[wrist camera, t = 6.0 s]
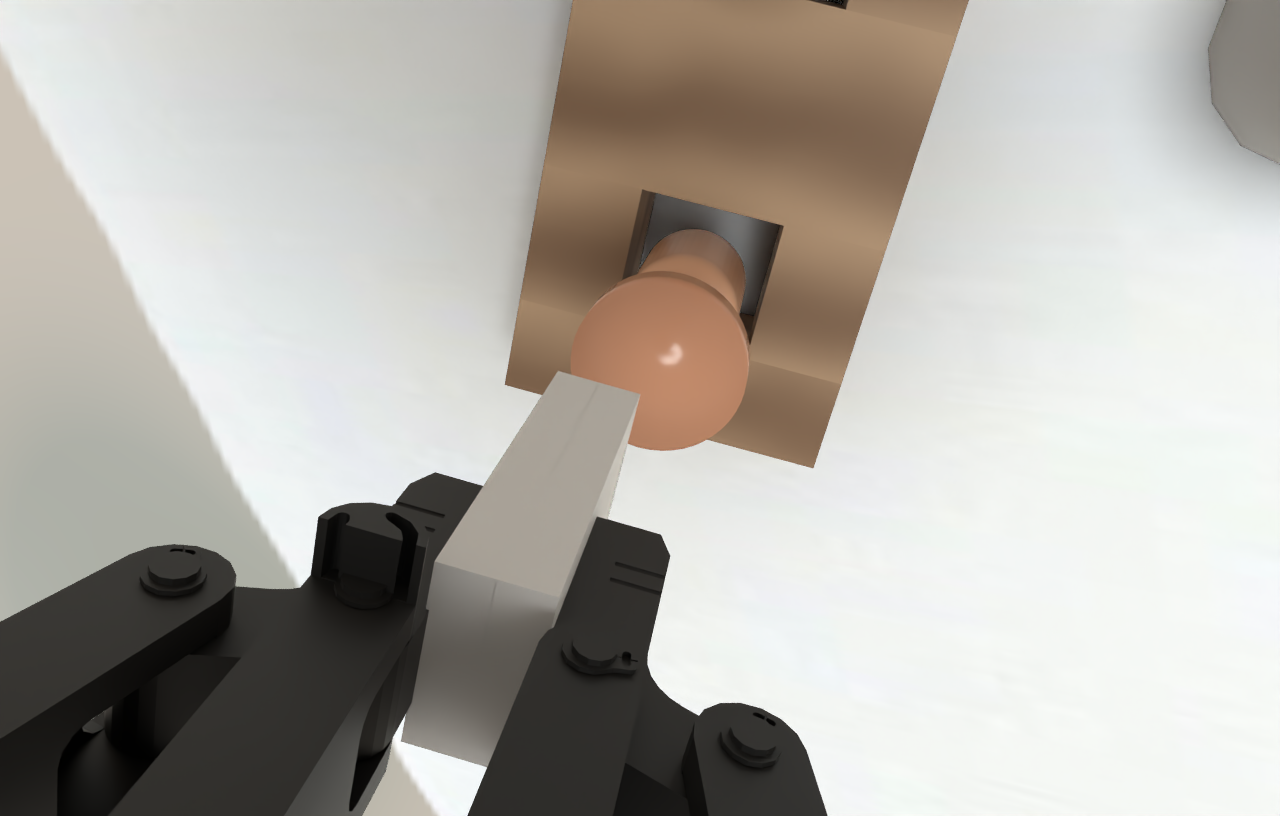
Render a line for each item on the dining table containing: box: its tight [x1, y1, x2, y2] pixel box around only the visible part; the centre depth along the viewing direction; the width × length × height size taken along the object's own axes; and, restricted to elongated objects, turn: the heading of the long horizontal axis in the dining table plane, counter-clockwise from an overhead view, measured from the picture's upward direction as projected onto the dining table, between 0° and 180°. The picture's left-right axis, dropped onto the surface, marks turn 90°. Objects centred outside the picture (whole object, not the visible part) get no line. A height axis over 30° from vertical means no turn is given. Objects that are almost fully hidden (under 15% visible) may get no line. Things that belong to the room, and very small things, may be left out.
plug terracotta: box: [571, 229, 750, 451], centre depth 31 cm, size 5×5×9 cm
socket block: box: [505, 0, 969, 468], centre depth 35 cm, size 24×12×5 cm, turn 167°
